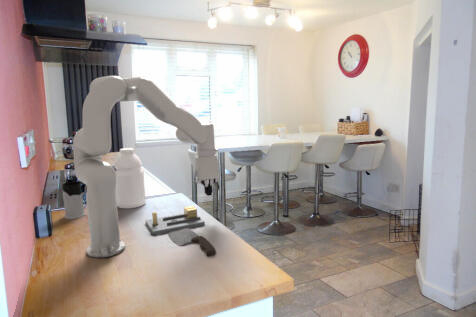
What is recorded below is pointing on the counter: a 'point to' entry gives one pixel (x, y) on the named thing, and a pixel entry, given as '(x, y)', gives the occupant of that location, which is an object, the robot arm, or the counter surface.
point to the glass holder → (73, 200)
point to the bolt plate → (172, 223)
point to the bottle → (129, 180)
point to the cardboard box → (190, 212)
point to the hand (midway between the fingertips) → (208, 194)
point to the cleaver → (191, 240)
